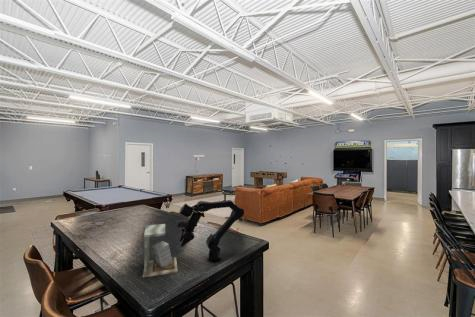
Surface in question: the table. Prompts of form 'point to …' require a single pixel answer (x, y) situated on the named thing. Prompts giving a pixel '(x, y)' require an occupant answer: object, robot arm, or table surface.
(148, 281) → the table surface
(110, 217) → the table surface
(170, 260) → the supplement box
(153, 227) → the awning stand
